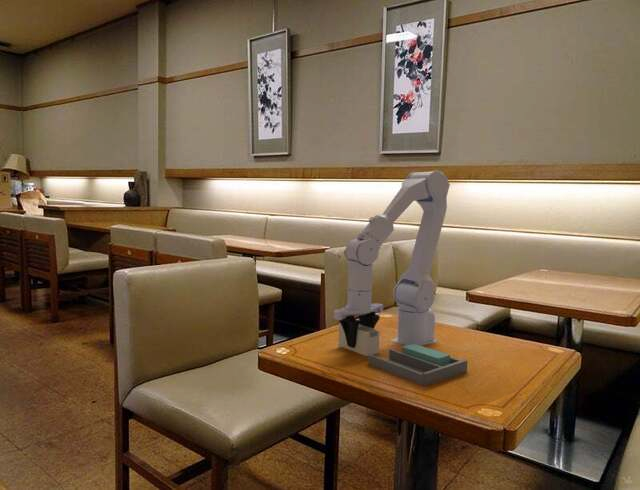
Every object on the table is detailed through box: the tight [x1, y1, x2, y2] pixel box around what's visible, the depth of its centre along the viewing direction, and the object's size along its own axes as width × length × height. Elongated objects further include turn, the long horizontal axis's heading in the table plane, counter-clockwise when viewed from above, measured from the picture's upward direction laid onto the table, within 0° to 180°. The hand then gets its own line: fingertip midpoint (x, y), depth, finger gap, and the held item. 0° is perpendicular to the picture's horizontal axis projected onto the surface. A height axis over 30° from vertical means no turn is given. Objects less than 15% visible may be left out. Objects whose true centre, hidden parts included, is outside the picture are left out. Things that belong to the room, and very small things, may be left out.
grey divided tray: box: [367, 344, 468, 387], centre depth 104 cm, size 14×16×3 cm
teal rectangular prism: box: [401, 344, 451, 367], centre depth 106 cm, size 4×10×3 cm, turn 39°
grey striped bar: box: [338, 323, 381, 357], centre depth 116 cm, size 4×10×6 cm, turn 39°
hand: (358, 344), depth 116 cm, fingers closed on grey striped bar, 4 cm apart
